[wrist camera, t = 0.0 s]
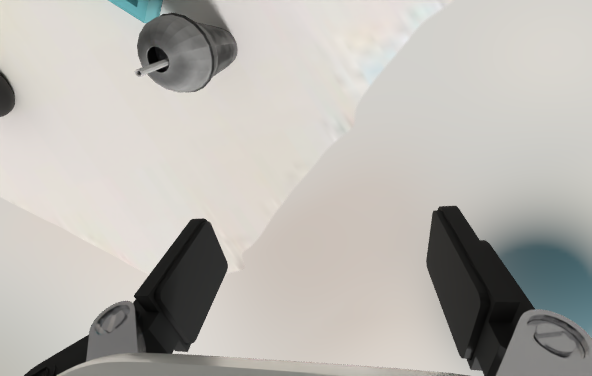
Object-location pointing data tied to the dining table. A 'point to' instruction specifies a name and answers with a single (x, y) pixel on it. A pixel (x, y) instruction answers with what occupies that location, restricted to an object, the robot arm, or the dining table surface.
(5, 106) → the mug
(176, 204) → the dining table surface
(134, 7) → the tray
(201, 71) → the beverage cup
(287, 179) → the dining table surface
